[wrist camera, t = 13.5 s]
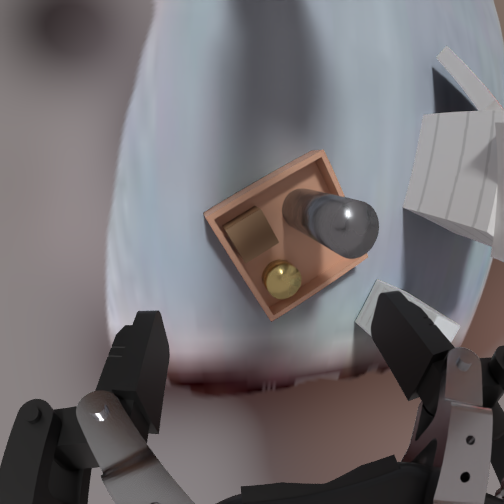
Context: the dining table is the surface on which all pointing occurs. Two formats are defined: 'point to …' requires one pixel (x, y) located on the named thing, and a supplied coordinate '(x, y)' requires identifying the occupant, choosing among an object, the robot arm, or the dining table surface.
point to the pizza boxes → (462, 164)
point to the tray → (284, 231)
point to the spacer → (332, 221)
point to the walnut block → (251, 233)
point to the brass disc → (281, 279)
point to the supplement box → (440, 320)
